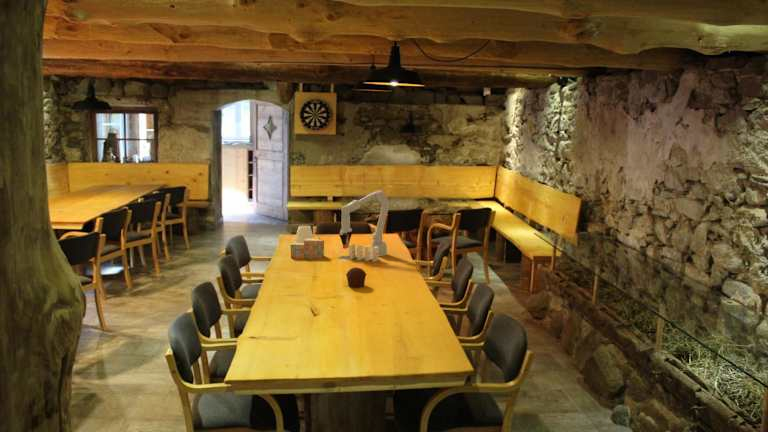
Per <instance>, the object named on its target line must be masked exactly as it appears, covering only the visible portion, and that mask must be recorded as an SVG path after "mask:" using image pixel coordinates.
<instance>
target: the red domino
mask: <svg viewBox="0 0 768 432" xmlns="http://www.w3.org/2000/svg"><path fill="white" fill-rule="evenodd" d="M346 235H348V236H347V239H346V245H343V244H342V249H344V250H346V249H348V248H349V246H350V242H349V234H346Z"/></svg>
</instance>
